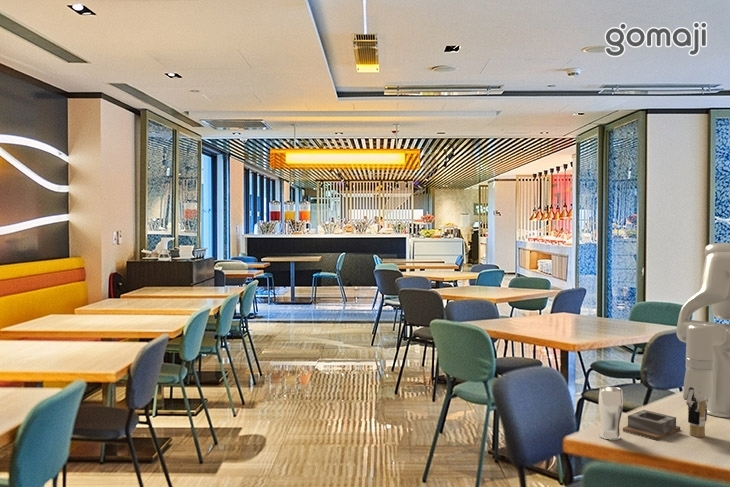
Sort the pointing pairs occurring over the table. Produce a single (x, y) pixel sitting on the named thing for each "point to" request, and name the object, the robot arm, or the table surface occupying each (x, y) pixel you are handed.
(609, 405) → the beer glass
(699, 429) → the sprinkles bottle
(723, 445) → the table surface
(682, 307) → the robot arm
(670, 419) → the socket holder
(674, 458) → the table surface
